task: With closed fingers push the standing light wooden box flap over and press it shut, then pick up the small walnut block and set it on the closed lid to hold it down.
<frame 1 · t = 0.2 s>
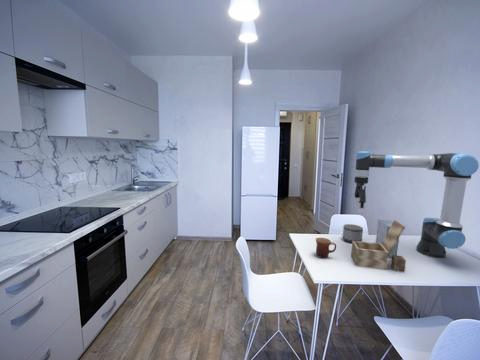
hand: (358, 210, 148), 28 cm above the table, fingers open, 13 cm apart
walnut block: (397, 269, 132), on the table
planter: (351, 241, 171), on the table
hard drive box: (385, 252, 153), on the table
light wooden box: (367, 262, 139), on the table
lid: (392, 235, 134), point 18 cm above the table, hinge at 110.0°
mug: (324, 256, 146), on the table
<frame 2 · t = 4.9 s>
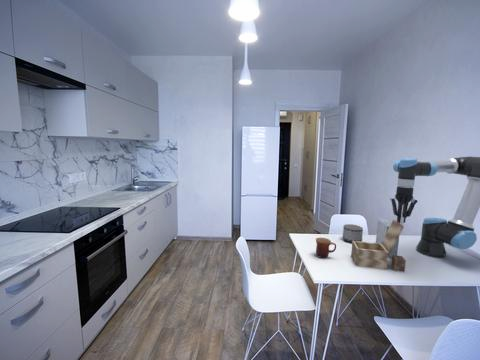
hand: (400, 228, 132), 23 cm above the table, fingers closed
lid: (392, 235, 134), point 18 cm above the table, hinge at 107.5°, touching gripper
everything else where it was.
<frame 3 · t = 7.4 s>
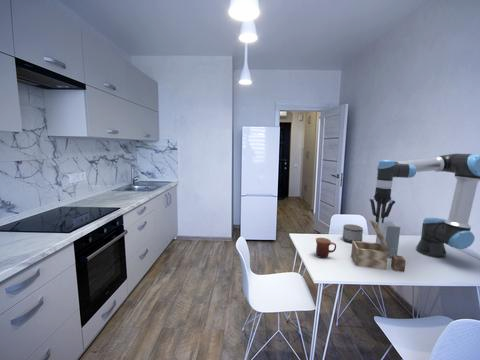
hand: (378, 228, 135), 22 cm above the table, fingers closed
lid: (379, 234, 136), point 18 cm above the table, hinge at 61.1°, touching gripper
everything else where it was.
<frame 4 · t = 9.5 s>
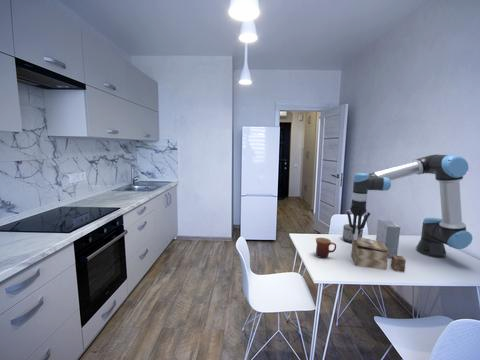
hand: (355, 239, 139), 14 cm above the table, fingers closed
lid: (369, 243, 137), point 12 cm above the table, hinge at 7.3°
everything else where it was.
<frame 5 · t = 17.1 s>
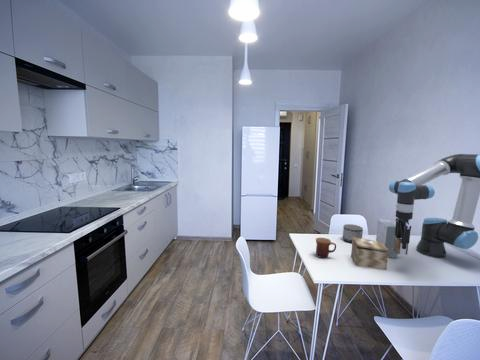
hand: (400, 251, 131), 10 cm above the table, fingers closed on walnut block, 5 cm apart
walnut block: (400, 252, 131), point 10 cm above the table, touching gripper
lid: (369, 243, 138), point 11 cm above the table, hinge at 4.5°
everything else where it was.
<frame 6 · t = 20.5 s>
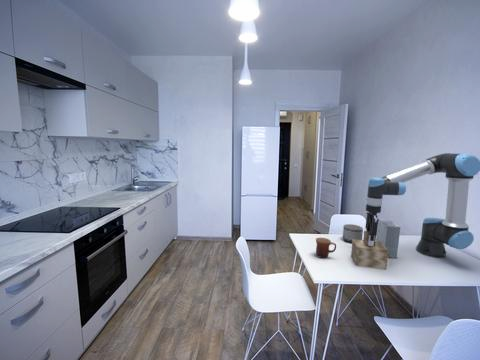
hand: (369, 243, 138), 12 cm above the table, fingers closed on walnut block, 5 cm apart
walnut block: (369, 244, 138), point 11 cm above the table, touching gripper
lid: (369, 245, 138), point 11 cm above the table, hinge at -0.8°, touching light wooden box, gripper
everything else where it was.
when the fingers open (12 cm above the table, at t = 20.7 s): walnut block stays where it is, resting on lid.
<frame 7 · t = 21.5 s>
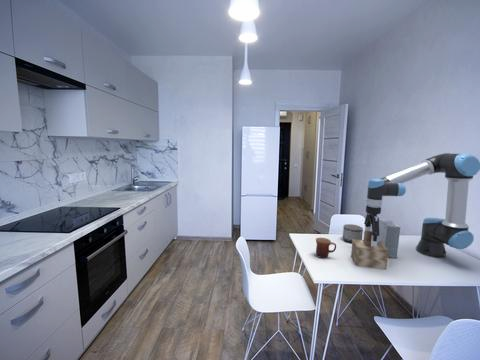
hand: (370, 241, 137), 13 cm above the table, fingers open, 13 cm apart
walnut block: (369, 244, 138), point 11 cm above the table, touching lid
lid: (369, 245, 138), point 11 cm above the table, hinge at -0.7°, touching light wooden box, walnut block
everything else where it was.
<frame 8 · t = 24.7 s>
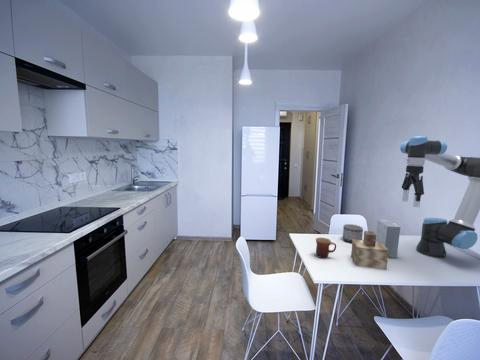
hand: (410, 204, 130), 37 cm above the table, fingers open, 13 cm apart
nothing on the table moved.
at the end: lid at -1° (first picture: +110°); walnut block 0.4 cm from the light wooden box (horizontally); walnut block point 11.3 cm above the table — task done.
